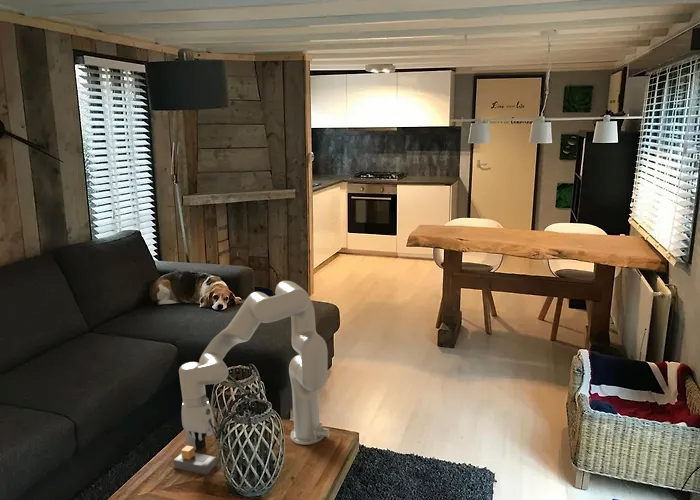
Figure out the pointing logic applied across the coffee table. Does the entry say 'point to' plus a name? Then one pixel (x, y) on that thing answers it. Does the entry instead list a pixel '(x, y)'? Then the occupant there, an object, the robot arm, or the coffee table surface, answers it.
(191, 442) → the beverage can
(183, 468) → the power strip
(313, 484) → the coffee table surface
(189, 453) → the orange cube
